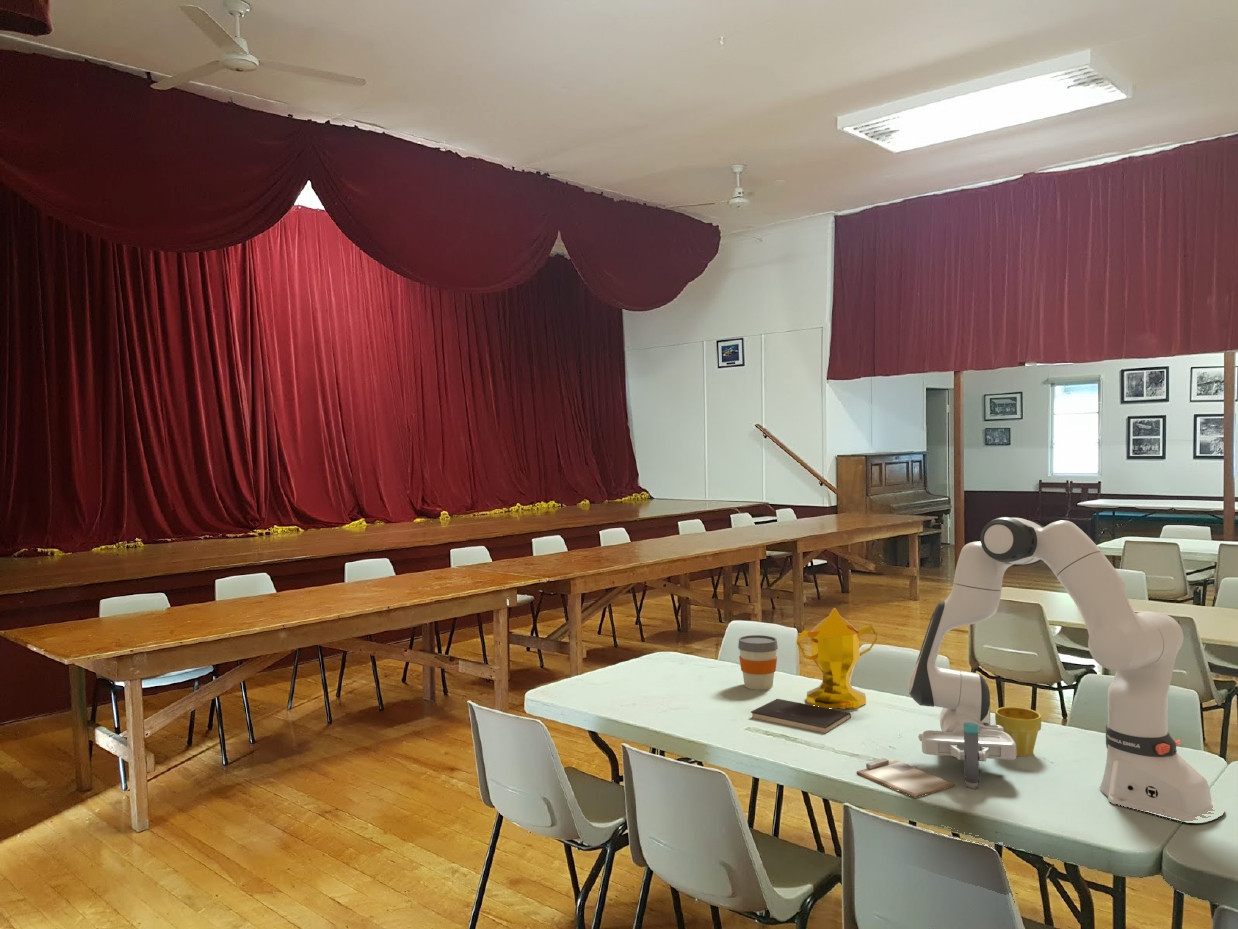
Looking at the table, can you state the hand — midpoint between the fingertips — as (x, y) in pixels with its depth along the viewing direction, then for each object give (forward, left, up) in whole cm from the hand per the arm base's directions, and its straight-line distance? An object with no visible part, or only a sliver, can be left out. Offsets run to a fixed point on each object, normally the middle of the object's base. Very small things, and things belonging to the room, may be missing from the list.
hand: (972, 757), depth 191 cm
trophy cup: (+64, -22, -7) cm, 68 cm away
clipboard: (+12, +8, -7) cm, 16 cm away
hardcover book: (+59, -3, -8) cm, 59 cm away
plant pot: (+9, -29, -7) cm, 31 cm away
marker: (+1, -1, -7) cm, 7 cm away
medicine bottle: (+31, -41, -7) cm, 51 cm away
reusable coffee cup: (+91, -14, -7) cm, 92 cm away
